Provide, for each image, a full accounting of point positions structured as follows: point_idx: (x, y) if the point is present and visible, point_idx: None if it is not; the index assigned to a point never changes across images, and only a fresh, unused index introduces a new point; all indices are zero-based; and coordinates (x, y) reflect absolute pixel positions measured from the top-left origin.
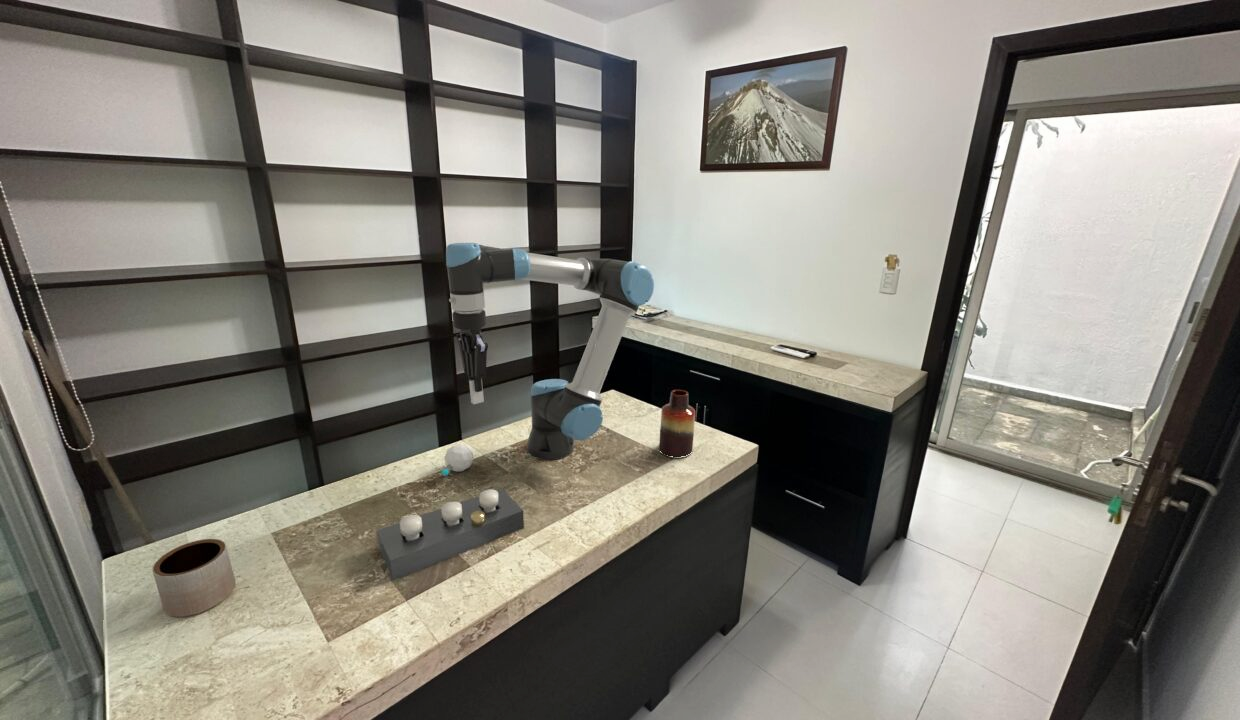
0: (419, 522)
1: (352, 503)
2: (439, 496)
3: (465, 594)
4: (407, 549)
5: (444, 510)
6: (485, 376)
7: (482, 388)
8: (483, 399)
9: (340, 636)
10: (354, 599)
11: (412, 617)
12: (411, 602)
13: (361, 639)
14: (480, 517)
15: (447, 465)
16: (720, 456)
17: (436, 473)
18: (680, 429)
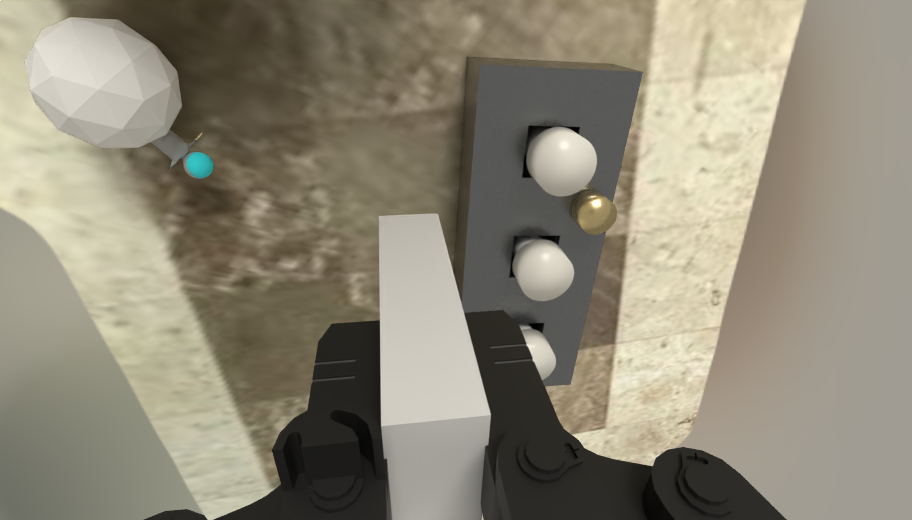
0: (552, 352)
1: (225, 379)
2: (304, 202)
3: (681, 267)
4: (562, 356)
5: (548, 296)
6: (739, 482)
7: (459, 296)
8: (438, 225)
9: (607, 417)
10: (551, 400)
11: (654, 343)
12: (625, 339)
13: (634, 399)
14: (616, 216)
15: (160, 148)
16: None
17: (137, 164)
18: None
